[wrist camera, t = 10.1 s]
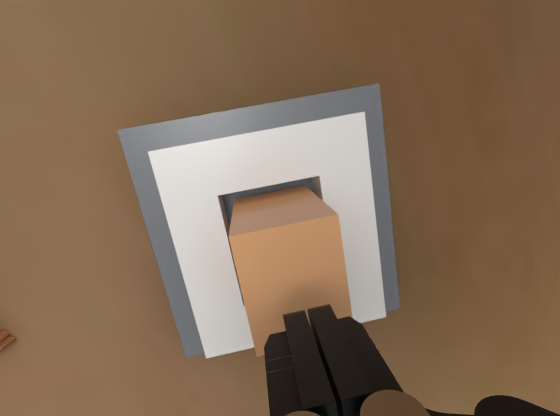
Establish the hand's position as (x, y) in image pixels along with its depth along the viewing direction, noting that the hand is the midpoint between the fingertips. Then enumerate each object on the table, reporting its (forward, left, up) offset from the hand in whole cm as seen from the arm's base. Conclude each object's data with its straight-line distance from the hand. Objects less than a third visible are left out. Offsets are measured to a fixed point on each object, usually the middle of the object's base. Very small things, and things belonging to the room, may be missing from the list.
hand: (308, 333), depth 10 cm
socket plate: (0, 0, -13) cm, 13 cm away
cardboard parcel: (0, 0, -11) cm, 11 cm away
